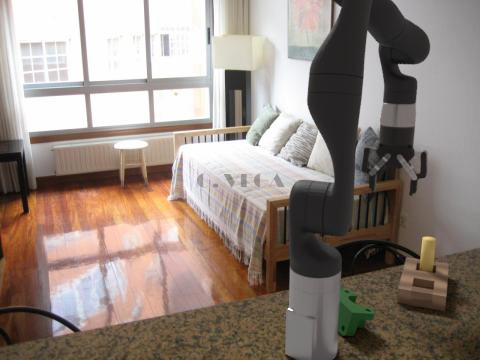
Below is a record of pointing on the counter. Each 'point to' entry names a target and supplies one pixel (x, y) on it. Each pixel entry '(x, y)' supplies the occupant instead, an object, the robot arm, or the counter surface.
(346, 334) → the clamp
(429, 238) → the peg
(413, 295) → the hole block
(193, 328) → the counter surface
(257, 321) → the counter surface
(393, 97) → the robot arm
